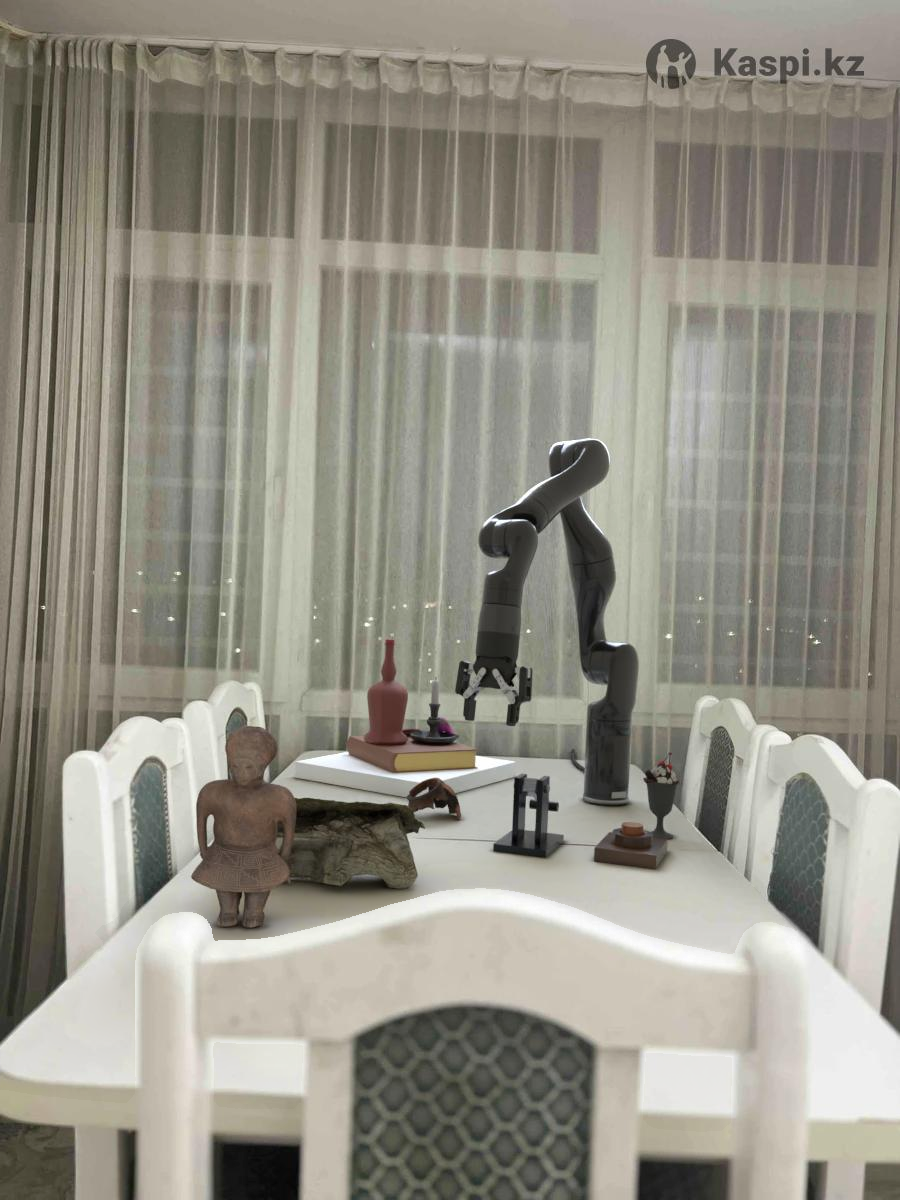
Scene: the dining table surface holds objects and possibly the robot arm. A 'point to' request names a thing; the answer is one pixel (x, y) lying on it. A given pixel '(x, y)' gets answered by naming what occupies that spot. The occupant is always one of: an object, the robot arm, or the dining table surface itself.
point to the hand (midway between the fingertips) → (489, 723)
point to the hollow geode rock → (352, 842)
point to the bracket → (539, 839)
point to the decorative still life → (403, 748)
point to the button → (632, 828)
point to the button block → (631, 849)
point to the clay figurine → (245, 829)
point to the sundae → (661, 794)
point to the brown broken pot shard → (434, 796)
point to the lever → (531, 791)
